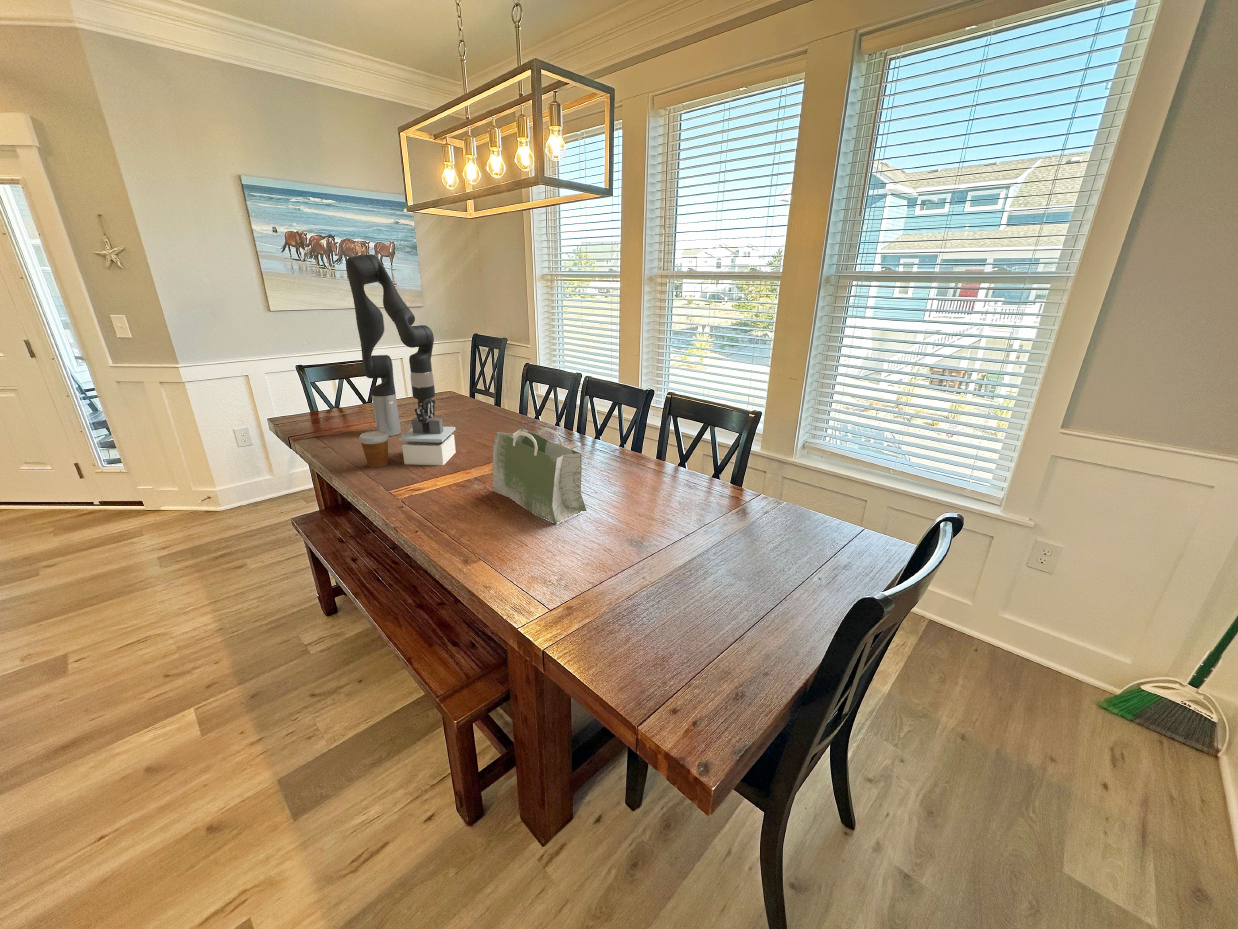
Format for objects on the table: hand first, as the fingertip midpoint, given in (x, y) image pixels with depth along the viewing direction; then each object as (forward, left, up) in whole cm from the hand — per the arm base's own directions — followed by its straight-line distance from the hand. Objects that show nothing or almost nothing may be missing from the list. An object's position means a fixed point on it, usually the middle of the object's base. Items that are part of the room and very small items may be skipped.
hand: (428, 430), depth 178 cm
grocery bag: (+33, +45, -12) cm, 57 cm away
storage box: (0, 0, -11) cm, 11 cm away
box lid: (0, 0, -2) cm, 2 cm away
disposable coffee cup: (+8, -16, -12) cm, 21 cm away
